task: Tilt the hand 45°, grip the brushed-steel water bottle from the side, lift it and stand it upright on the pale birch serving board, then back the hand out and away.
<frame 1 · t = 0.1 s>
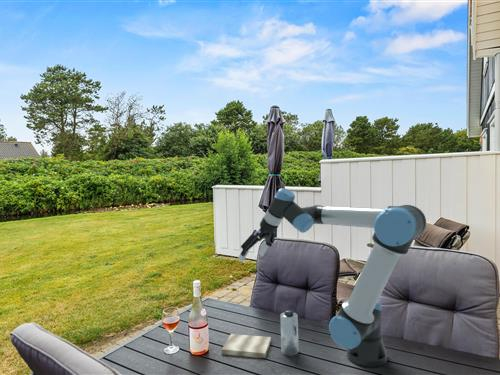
hand: (250, 257, 155), 35 cm above the table, tool tilted 35°, fingers open, 13 cm apart
steel bottle: (289, 351, 140), on the table
birch board: (247, 347, 144), on the table
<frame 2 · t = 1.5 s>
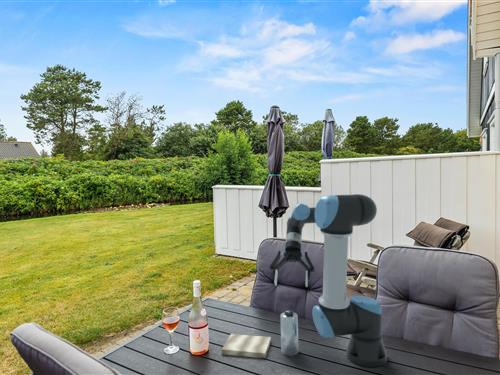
hand: (290, 284, 150), 24 cm above the table, tool tilted 45°, fingers open, 13 cm apart
nothing on the table moved.
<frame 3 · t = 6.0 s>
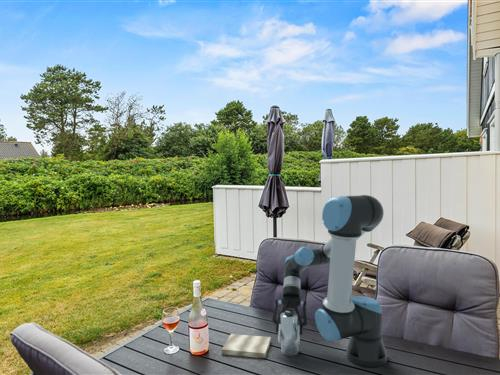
hand: (288, 342, 137), 6 cm above the table, tool tilted 45°, fingers closed on steel bottle, 7 cm apart
steel bottle: (289, 351, 140), on the table, touching gripper
when the fingers open (9 cm above the table, at t = 13.7 s): steel bottle drops 1 cm, resting on birch board.
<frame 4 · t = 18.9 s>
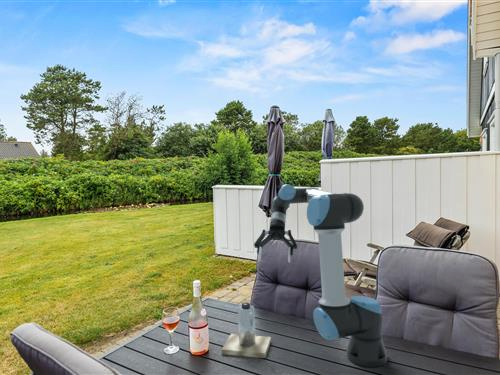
hand: (273, 260, 155), 34 cm above the table, tool tilted 45°, fingers open, 13 cm apart
steel bottle: (247, 342, 144), point 2 cm above the table, touching birch board
at the end: steel bottle inside the target area on the birch board (0.1 cm from its centre), point 2.0 cm above the birch board's base; steel bottle tilted 1°; the gripper is holding nothing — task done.
